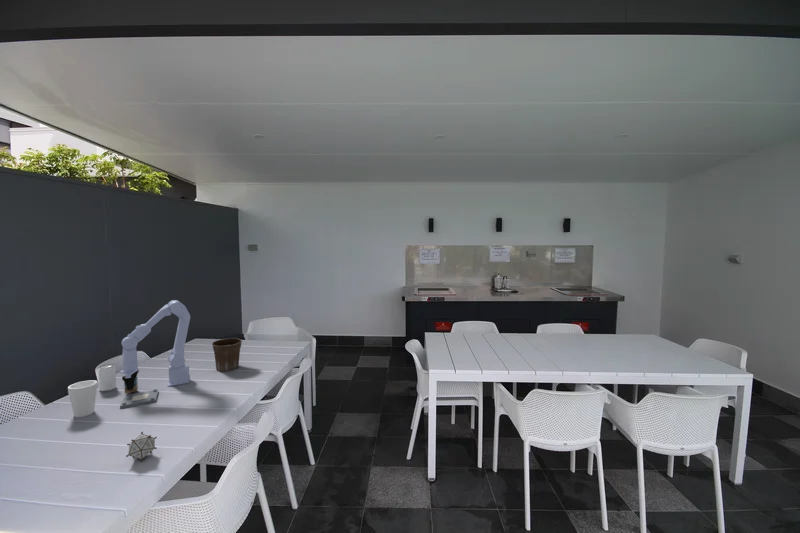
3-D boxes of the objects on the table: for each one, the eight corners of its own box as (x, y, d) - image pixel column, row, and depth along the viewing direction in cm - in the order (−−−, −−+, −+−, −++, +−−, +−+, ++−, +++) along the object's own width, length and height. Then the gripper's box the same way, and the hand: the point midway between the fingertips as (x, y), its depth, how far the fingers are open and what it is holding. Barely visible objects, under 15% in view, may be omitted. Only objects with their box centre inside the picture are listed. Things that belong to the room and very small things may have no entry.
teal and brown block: (137, 388, 171) (137, 376, 171) (136, 391, 167) (135, 379, 167) (126, 390, 169) (125, 378, 168) (124, 393, 165) (124, 381, 165)
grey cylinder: (106, 392, 168) (105, 368, 168) (95, 391, 170) (94, 367, 169) (119, 387, 175) (118, 364, 174) (109, 385, 176) (108, 363, 175)
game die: (140, 465, 118) (140, 435, 122) (163, 456, 118) (163, 426, 123) (118, 468, 110) (119, 435, 114) (143, 458, 110) (143, 426, 115)
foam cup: (103, 410, 150) (102, 381, 149) (78, 420, 141) (76, 390, 140) (89, 407, 153) (88, 379, 152) (64, 416, 144) (62, 387, 143)
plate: (158, 391, 169) (158, 388, 169) (155, 401, 158) (155, 398, 158) (125, 397, 163) (125, 393, 162) (120, 408, 151) (119, 404, 151)
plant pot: (244, 369, 201) (244, 342, 200) (214, 375, 192) (213, 347, 191) (240, 361, 214) (239, 336, 213) (211, 366, 205) (210, 340, 204)
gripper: (122, 358, 171) (123, 384, 172) (116, 366, 159) (118, 394, 160) (139, 355, 175) (141, 381, 176) (135, 364, 163) (136, 391, 163)
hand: (131, 387), depth 168 cm, fingers closed on teal and brown block, 4 cm apart
